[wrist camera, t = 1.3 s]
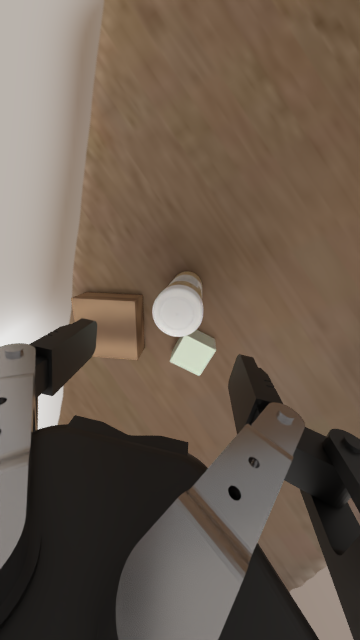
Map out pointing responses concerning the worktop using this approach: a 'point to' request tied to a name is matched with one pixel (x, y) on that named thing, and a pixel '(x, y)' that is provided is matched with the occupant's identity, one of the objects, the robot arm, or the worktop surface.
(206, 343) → the sage block
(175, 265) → the worktop surface
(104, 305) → the walnut block
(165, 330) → the sprinkles bottle
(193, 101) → the worktop surface
